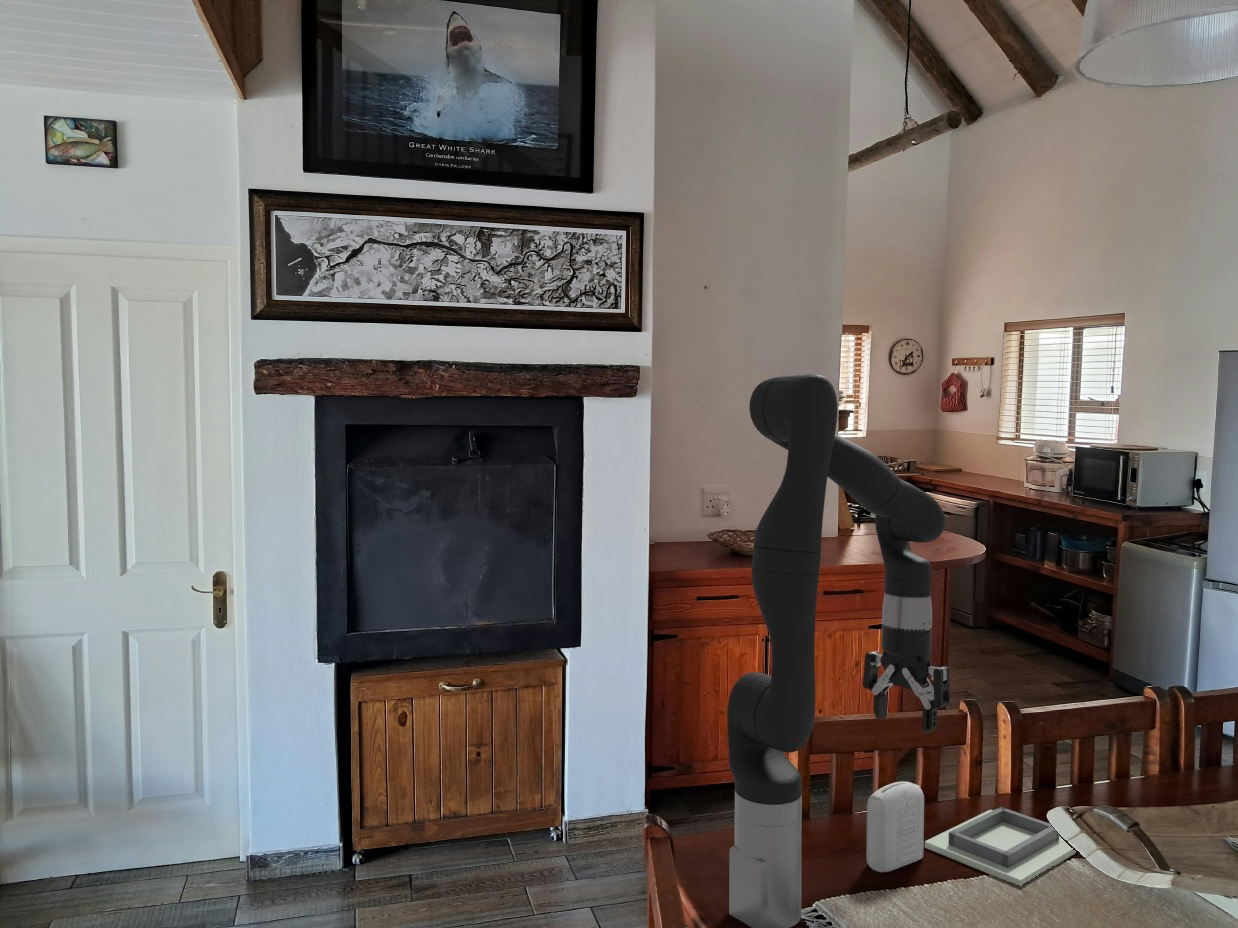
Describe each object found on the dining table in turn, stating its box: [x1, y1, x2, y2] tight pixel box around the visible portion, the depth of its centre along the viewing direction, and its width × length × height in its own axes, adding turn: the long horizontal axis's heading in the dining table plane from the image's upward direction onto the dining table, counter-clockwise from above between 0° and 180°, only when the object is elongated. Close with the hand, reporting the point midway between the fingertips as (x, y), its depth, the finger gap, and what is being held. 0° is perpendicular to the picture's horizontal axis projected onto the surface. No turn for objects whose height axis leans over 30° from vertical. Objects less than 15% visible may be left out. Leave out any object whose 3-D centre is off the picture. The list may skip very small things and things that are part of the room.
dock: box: [924, 806, 1076, 888], centre depth 144 cm, size 20×16×3 cm
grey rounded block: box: [866, 781, 925, 873], centre depth 139 cm, size 10×4×12 cm, turn 123°
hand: (904, 724), depth 141 cm, fingers open, 8 cm apart
